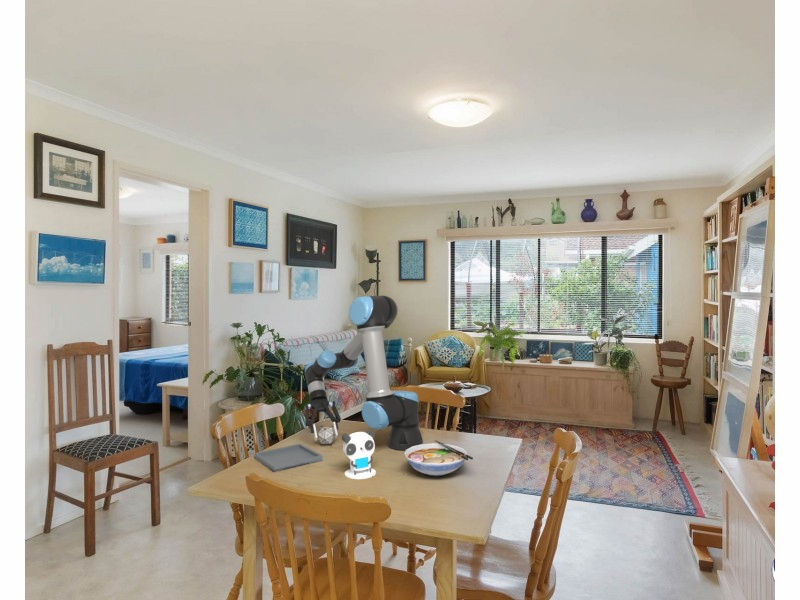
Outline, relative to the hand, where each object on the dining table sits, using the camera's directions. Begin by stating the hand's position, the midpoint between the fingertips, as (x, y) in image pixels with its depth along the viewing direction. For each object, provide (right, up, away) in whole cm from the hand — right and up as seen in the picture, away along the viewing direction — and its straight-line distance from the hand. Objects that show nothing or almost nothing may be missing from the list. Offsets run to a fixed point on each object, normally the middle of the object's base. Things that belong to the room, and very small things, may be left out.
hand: (326, 437), depth 214 cm
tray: (-13, -5, -14) cm, 20 cm away
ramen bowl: (+44, -4, -32) cm, 55 cm away
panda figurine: (+17, -5, -31) cm, 35 cm away
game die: (0, -4, +3) cm, 5 cm away
